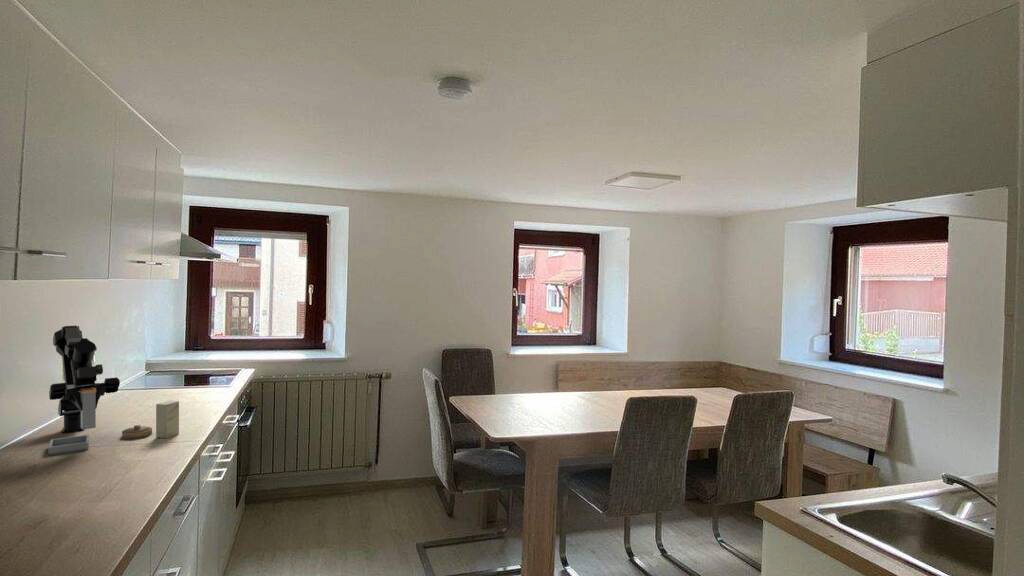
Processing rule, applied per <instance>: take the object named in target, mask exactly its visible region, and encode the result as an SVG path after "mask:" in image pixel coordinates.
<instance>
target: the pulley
mask: <svg viewBox="0 0 1024 576" xmlns="http://www.w3.org/2000/svg"><path fill="white" fill-rule="evenodd" d="M149 435H150V436H151V435H153V427H151V426H145V425H140V424H135V425H133V427H128V428H126V429H123V430H121V438H122V439H125V440H134V439H135V440H136V438H138V439H143V438H147V437H149ZM146 436H147V437H146ZM142 437H143V438H142Z"/></svg>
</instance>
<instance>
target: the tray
mask: <svg viewBox="0 0 1024 576" xmlns="http://www.w3.org/2000/svg"><path fill="white" fill-rule="evenodd" d="M89 444H90V435H89V434H84V435H75V436H69V437H60V438H59V437H58V438H53V439H50V442H49V445H48V447H47V449H48V450H47V451H48V452H47V453H48V456H53V455H52V454H54V455H61V454H68V453H75V452H81V451H83V450H84V451H88V450H89Z"/></svg>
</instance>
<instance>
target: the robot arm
mask: <svg viewBox="0 0 1024 576" xmlns="http://www.w3.org/2000/svg"><path fill="white" fill-rule="evenodd" d="M52 345H53V346H55V350H56V353H58V354H59V355H60V356H61V359H62V360H61V361H62V368H63V369H62V370H63V377H64V382H59V383H51V385H50V386H49V391H48V394H49V395H48V397H49V400H51V401H54V400H59V401H58V408H57V412H58V413H57V414H58V416H60V417H63V428H62V430H61V433H63V434H65V433H72V432H80V431H83V430H82V428H81V411H82V403H81V392H80V389H82V388H91V387H94V388H95V389H96V409H97V408H98V404H99V401H100V399H101V397H102V396H105V394H111V393H117V392H118V391H119V388H120V384H121V381H120V379H119V378H118V377H105V378H104V381H103V382H97V380H98V379H97V378H98V377H97V376H99V375H103V373H104V367H103V364H101V363H100V364H95V366H94V365H93V363H92V361H93V359H94V357H95V352H96V351H98V350H97V348H98V347H96V346H97V345H96V344H95V342H93V341H90V339H88V338H87V337H86V338H83V332H82V330H80V326H78V325H64V326H61V329H59V330H57V331H55V332H54V333H53V337H52Z"/></svg>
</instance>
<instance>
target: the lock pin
mask: <svg viewBox="0 0 1024 576" xmlns="http://www.w3.org/2000/svg"><path fill="white" fill-rule="evenodd" d="M80 392H81V403H82V411H81V428H82V430H81V431H85V430H89V429H95V428H96V426H97V425H96V421H97V420H96V419H97V417H96V416H97V415H96V413H97V412H96V411H97V410H96V409H97V408H96V389H95V388H94V387H91V388H82V389H80Z"/></svg>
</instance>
